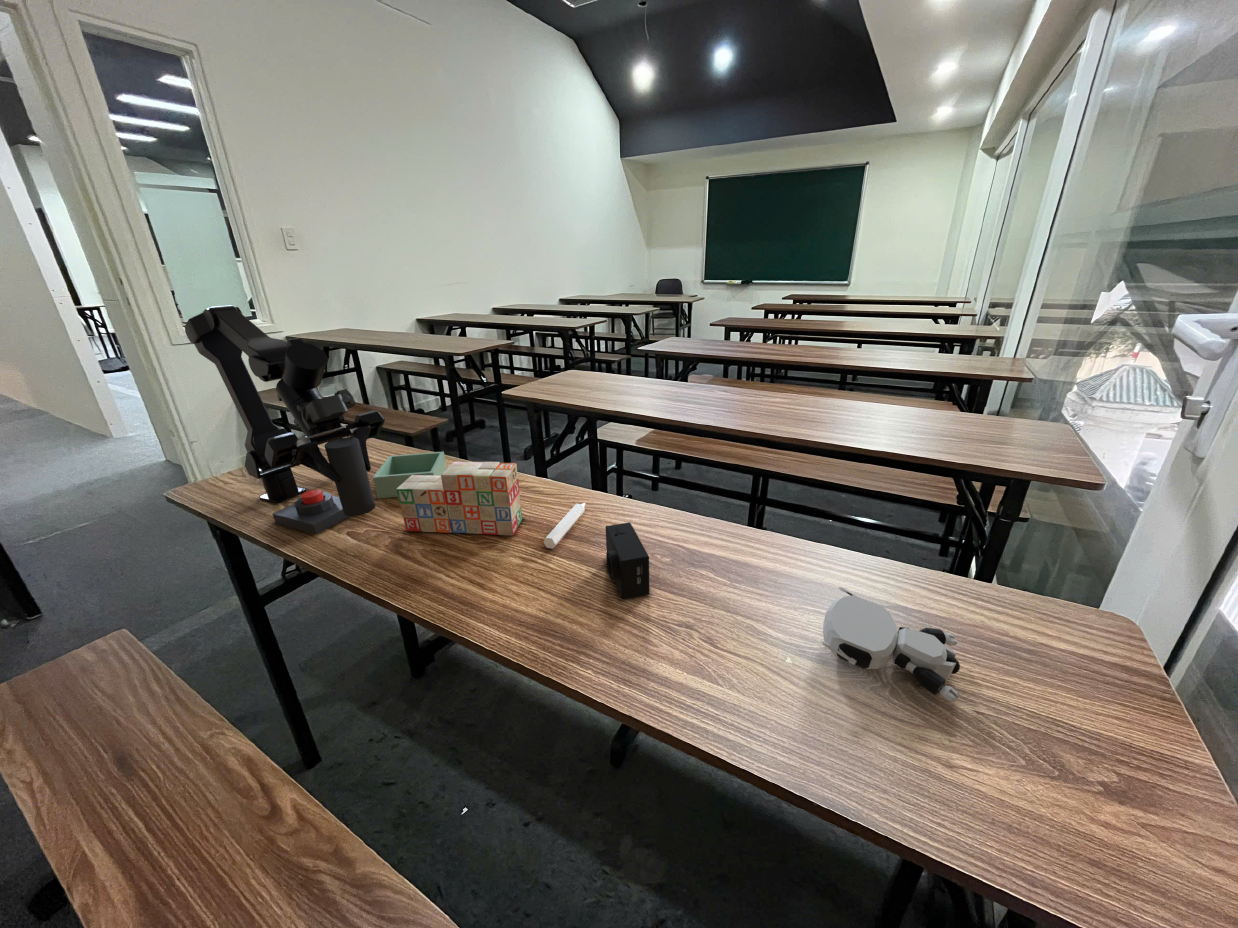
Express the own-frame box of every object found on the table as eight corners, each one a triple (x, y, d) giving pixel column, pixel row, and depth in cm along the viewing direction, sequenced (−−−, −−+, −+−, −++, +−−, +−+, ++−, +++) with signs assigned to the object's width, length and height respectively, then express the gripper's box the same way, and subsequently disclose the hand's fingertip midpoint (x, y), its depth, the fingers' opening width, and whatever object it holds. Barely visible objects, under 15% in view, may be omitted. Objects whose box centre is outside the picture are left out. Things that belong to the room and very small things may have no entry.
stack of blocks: (405, 532, 91) (391, 473, 86) (420, 516, 97) (408, 460, 92) (514, 535, 89) (506, 475, 84) (523, 518, 95) (516, 461, 90)
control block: (275, 523, 96) (269, 505, 94) (321, 501, 104) (316, 484, 103) (316, 534, 91) (310, 516, 90) (360, 510, 100) (355, 493, 98)
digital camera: (599, 562, 81) (598, 526, 78) (630, 556, 82) (630, 521, 79) (614, 601, 71) (613, 562, 69) (649, 594, 73) (649, 555, 70)
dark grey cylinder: (337, 513, 86) (317, 446, 80) (360, 500, 90) (343, 435, 85) (358, 518, 84) (340, 449, 79) (381, 504, 88) (365, 439, 83)
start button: (299, 503, 96) (296, 495, 95) (316, 495, 99) (313, 488, 98) (311, 506, 94) (309, 498, 94) (328, 498, 97) (325, 491, 97)
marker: (586, 510, 99) (551, 551, 85) (577, 504, 99) (541, 544, 85) (591, 501, 98) (557, 541, 84) (583, 495, 98) (547, 534, 84)
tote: (377, 498, 105) (372, 477, 103) (393, 475, 116) (389, 455, 114) (437, 493, 106) (433, 472, 104) (447, 470, 118) (443, 451, 116)
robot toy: (951, 651, 62) (829, 605, 69) (963, 625, 60) (836, 580, 67) (952, 724, 52) (810, 663, 59) (966, 696, 50) (818, 636, 57)
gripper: (248, 390, 73) (302, 472, 71) (367, 366, 86) (415, 435, 85) (245, 429, 80) (294, 505, 79) (355, 402, 94) (398, 466, 92)
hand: (354, 475), depth 83 cm, fingers closed on dark grey cylinder, 5 cm apart
